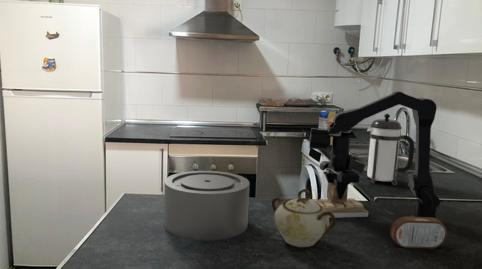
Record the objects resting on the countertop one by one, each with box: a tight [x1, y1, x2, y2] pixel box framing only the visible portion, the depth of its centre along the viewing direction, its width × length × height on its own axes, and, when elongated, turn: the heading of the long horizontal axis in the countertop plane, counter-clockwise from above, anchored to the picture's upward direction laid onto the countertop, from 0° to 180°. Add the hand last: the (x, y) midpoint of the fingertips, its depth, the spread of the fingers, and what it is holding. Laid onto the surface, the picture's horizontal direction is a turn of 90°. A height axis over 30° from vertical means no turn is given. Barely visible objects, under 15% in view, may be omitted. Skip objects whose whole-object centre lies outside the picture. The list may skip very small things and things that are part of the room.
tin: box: [389, 216, 448, 250], centre depth 116 cm, size 15×3×8 cm, turn 92°
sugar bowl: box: [271, 188, 337, 248], centre depth 116 cm, size 20×15×15 cm
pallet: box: [310, 197, 365, 211], centre depth 141 cm, size 7×17×2 cm, turn 101°
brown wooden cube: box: [326, 182, 349, 202], centre depth 140 cm, size 5×5×5 cm
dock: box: [328, 209, 369, 219], centre depth 141 cm, size 9×19×2 cm, turn 101°
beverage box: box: [317, 110, 339, 145], centre depth 266 cm, size 7×11×22 cm, turn 136°
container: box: [163, 170, 250, 241], centre depth 126 cm, size 25×25×13 cm
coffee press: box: [364, 113, 415, 186], centre depth 183 cm, size 17×16×30 cm
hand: (336, 196), depth 141 cm, fingers closed on brown wooden cube, 5 cm apart
